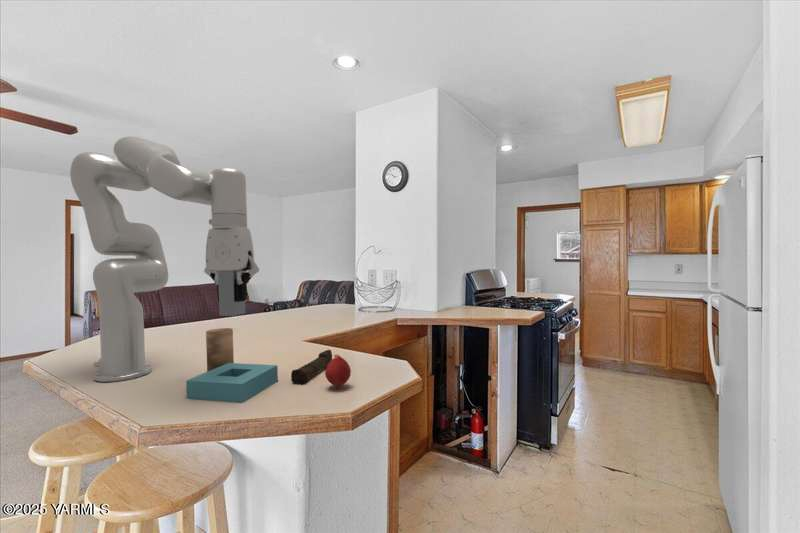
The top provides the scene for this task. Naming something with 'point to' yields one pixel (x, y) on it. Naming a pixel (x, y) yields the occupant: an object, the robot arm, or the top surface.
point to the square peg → (229, 295)
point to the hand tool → (311, 368)
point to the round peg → (219, 347)
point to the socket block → (232, 382)
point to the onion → (338, 371)
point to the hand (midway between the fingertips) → (232, 300)
